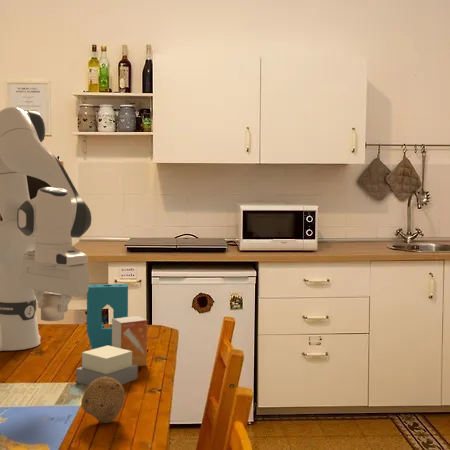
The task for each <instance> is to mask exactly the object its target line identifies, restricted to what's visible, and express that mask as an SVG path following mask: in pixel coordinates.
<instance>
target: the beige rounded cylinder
mask: <svg viewBox="0 0 450 450" xmlns="http://www.w3.org/2000/svg"><path fill="white" fill-rule="evenodd" d="M62 300H63V299H62V298H61V294H57V293H51V292H45V293H43V294H41V308H40V320H41V321H45V322H59V321H62V320H64V319H65V312H64V313H63V312H59V311H58V309H59V308H58V305H60V304H61V303H62Z"/></svg>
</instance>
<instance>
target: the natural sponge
mask: <svg viewBox="0 0 450 450" xmlns="http://www.w3.org/2000/svg"><path fill="white" fill-rule="evenodd" d="M124 388H125V387H123V385H121V384H120V382H119V381H117V380H116V379H114V378H111V377H99V378H97V379H95V380H94V381H92V382H91V383H90V384H89V385H87V388H86V389H85V391H84V393H83V396H82V397H81V407H82V410H83V411H84V412H85V413H86V414H89V415H91V416H93V418H95V419H96V420H98V422H100V423H103V424H110V423H111V422H113V421H114V420H115V418H117V416H118V415H119V414H120V411H121V409H122V407H123V406H124V405H123V404H124V401H125V396H126V395H125V389H124Z"/></svg>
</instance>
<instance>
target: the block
mask: <svg viewBox="0 0 450 450" xmlns="http://www.w3.org/2000/svg"><path fill="white" fill-rule="evenodd" d="M107 305H108V306H109V307H110V308H111V309H112V311H113V312H112V314H113V315H112V316H113V317H112V319H116V318H123V317H129V284H127V283H113V284H112V283H107V284H106V283H104V284H103V283H99V284H97V283H96V284H89V289H88V292H87V294H86V333H87V337H88V340H89V344H90V348H91V350H92V349H96V348H100V347H103V346H107V345H109V346H112V324H110V327H105V325H104V324H102V322H103V321H102V317H103V316H102V312H103V311H102V310H103V309H104V308H105V307H106V306H107Z"/></svg>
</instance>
